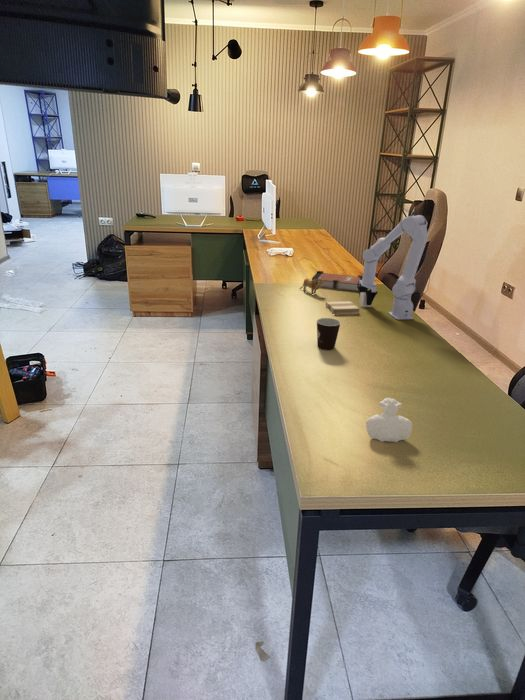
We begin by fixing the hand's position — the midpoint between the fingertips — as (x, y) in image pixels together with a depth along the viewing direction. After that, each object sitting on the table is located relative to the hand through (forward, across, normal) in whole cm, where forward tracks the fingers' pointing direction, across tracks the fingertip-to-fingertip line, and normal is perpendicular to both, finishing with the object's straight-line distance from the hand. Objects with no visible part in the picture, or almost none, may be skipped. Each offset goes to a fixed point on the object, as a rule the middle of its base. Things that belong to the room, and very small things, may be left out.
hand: (365, 302), depth 228 cm
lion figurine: (+2, +23, +19) cm, 30 cm away
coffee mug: (+2, -45, +37) cm, 58 cm away
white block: (+2, 0, 0) cm, 2 cm away
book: (+2, +36, 0) cm, 36 cm away
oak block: (+2, -6, +14) cm, 15 cm away
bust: (+2, -106, +43) cm, 114 cm away
